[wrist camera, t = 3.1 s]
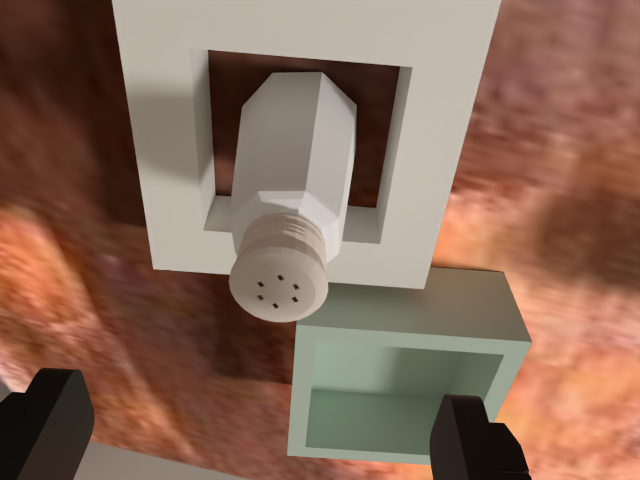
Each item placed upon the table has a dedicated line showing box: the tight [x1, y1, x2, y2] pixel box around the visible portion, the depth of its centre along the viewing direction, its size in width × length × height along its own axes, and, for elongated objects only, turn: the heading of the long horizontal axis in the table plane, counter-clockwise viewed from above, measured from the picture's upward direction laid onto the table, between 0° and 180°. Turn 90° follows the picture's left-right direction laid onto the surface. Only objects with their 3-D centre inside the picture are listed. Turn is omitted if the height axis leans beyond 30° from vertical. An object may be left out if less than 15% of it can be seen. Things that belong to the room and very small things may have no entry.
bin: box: [287, 267, 532, 465], centre depth 29 cm, size 11×11×5 cm
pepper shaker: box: [229, 72, 357, 322], centre depth 19 cm, size 5×5×11 cm
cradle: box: [112, 0, 501, 289], centre depth 22 cm, size 13×13×3 cm
